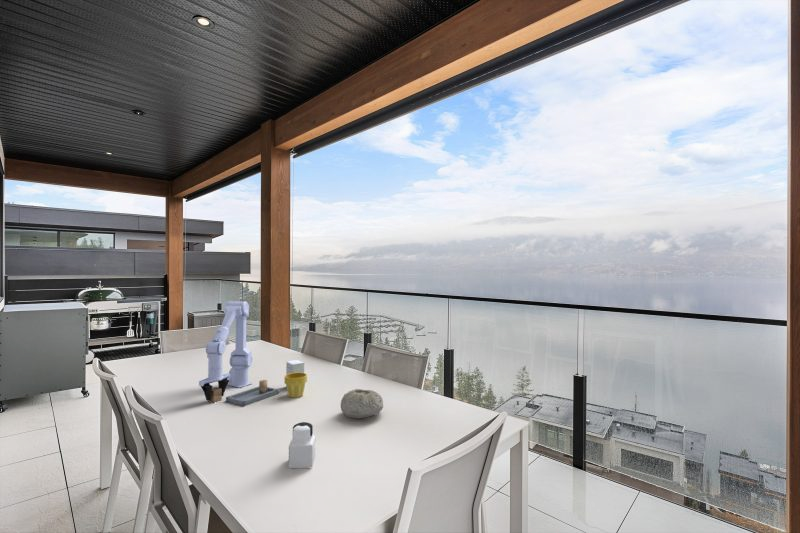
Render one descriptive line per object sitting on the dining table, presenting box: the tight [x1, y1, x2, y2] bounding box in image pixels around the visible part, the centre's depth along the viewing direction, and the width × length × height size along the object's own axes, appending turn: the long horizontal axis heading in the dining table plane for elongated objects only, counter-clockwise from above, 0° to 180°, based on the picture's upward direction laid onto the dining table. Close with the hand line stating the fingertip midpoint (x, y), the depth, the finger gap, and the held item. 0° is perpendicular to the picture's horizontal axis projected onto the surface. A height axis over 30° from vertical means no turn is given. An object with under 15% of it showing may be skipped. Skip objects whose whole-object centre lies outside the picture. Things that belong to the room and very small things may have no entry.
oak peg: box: [258, 379, 268, 394], centre depth 186 cm, size 4×4×6 cm
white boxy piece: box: [288, 421, 317, 469], centre depth 121 cm, size 7×7×12 cm
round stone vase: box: [340, 388, 384, 419], centre depth 160 cm, size 18×18×10 cm
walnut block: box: [207, 386, 223, 404], centre depth 175 cm, size 4×4×6 cm
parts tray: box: [225, 386, 280, 407], centre depth 180 cm, size 12×20×2 cm, turn 151°
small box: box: [285, 359, 305, 388], centre depth 196 cm, size 8×6×13 cm
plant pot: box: [284, 372, 308, 399], centre depth 184 cm, size 10×10×10 cm
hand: (214, 397), depth 175 cm, fingers open, 6 cm apart
